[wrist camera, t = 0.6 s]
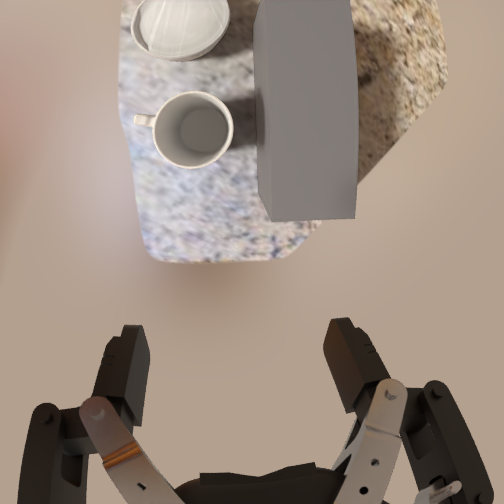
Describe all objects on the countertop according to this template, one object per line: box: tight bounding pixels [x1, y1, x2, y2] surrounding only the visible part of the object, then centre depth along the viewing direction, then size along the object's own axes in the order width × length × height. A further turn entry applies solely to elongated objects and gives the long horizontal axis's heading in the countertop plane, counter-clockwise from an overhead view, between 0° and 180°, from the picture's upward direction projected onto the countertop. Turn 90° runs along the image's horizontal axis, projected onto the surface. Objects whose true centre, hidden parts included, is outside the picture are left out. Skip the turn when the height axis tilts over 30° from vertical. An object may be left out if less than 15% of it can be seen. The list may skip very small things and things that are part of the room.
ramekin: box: [131, 0, 230, 62], centre depth 24 cm, size 11×11×5 cm
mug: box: [134, 91, 234, 169], centre depth 27 cm, size 10×7×12 cm, turn 74°
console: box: [252, 0, 359, 222], centre depth 27 cm, size 22×8×12 cm, turn 2°
